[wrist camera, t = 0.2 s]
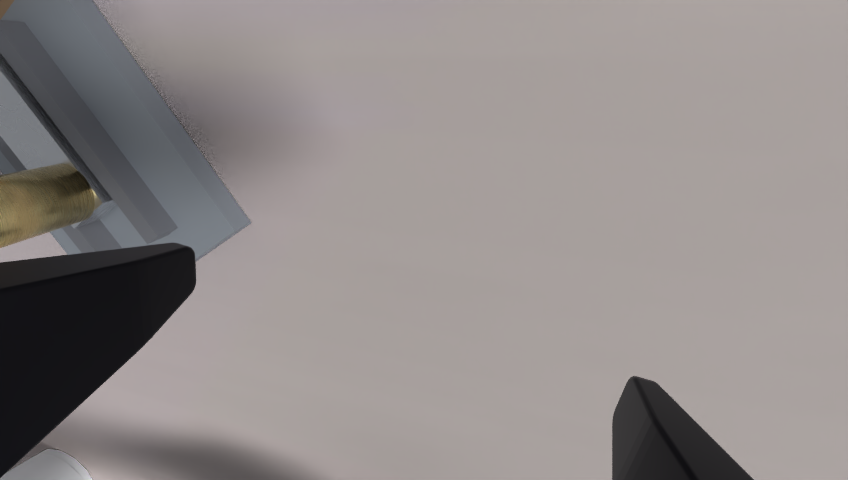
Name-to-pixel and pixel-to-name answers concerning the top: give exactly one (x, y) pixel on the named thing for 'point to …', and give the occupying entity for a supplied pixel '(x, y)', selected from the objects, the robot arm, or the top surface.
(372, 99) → the top surface
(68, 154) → the brass ball knob
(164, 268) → the robot arm
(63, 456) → the foam cup
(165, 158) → the grey railed plate
